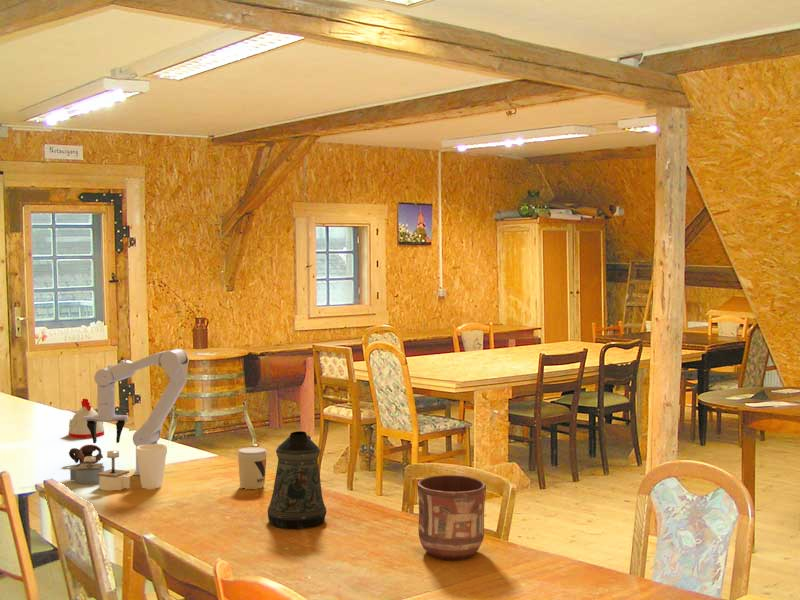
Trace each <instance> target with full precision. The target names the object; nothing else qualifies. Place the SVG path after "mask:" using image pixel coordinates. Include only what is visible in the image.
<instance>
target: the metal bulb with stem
mask: <svg viewBox="0 0 800 600" xmlns="http://www.w3.org/2000/svg"><path fill="white" fill-rule="evenodd" d="M95 456H96V455H93V456H86V457H84V463H88V467H91V463H94V462H96V457H95ZM94 464H95V463H94Z"/></svg>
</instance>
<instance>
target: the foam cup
mask: <svg viewBox="0 0 800 600" xmlns="http://www.w3.org/2000/svg"><path fill="white" fill-rule="evenodd" d="M136 455H137V458H138V465H139V473H140V475H139V479H140V486H141V488H142V489H143V488H146V489H145V490H156V489H155V488H158V489H160V488H159V487H161V486H162V487H163V481H164V473H165V470H164V467H166V457H167V455H168V446H167V445H166V444H163V443H157V444H146V445H140V446H138V447H136V446H135V456H136ZM162 487H161V488H162ZM153 488H154V489H153Z"/></svg>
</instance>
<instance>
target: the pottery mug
mask: <svg viewBox="0 0 800 600" xmlns="http://www.w3.org/2000/svg"><path fill="white" fill-rule="evenodd" d="M95 451H97V452H98V453H97V454H96V455H93V453H94V452H95ZM68 455H69V457H70V458H71V460H73V461H74V463H75V464H78V463H79V465H80V464H88V463H84V457H86V456H95V457H96V462H94V463H91V464H97V463H99V462H100V461H101V460H102V459H103V458H104V456H103V454H102V450H101V448H100V446H98V445H94V444H85V445H82V446H81V447H80V448H76V447H73V448H70V450H69V452H68Z"/></svg>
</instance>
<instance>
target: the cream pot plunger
mask: <svg viewBox="0 0 800 600" xmlns="http://www.w3.org/2000/svg"><path fill="white" fill-rule="evenodd" d="M106 456H107V457H106V458H108V459H111V469H112V473H115V469H116V467H115V466H116V465H115V464H116V463H115V459H116V458H119V457H120V451H119V450H109V451H107V452H106Z"/></svg>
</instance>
